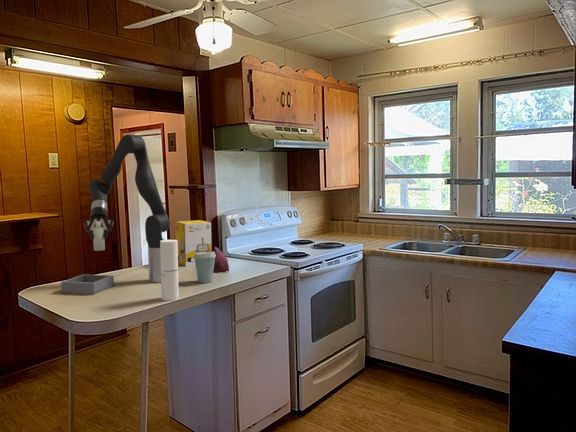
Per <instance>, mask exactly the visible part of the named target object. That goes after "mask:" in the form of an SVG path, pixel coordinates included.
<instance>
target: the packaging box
mask: <svg viewBox="0 0 576 432" xmlns="http://www.w3.org/2000/svg"><path fill="white" fill-rule="evenodd" d="M174 223H175V240H177V241H178V265H181V266H183V267H186V268H187V267H194V266H195V267H196V264H195V257H194V255H195V254H196V253H200V252H213V251H212V221H205V220H199V219H198V220H197V219H195V220H182V221H181V220H179V221H175V222H174Z"/></svg>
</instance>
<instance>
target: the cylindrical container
mask: <svg viewBox="0 0 576 432" xmlns="http://www.w3.org/2000/svg"><path fill="white" fill-rule="evenodd" d="M160 255H161V282H160V284H161V285H160V286H161V287H160V288H161V289H160V290H161V301H167V302H169V301H176V300H178V299H179V297H180V296H179V294H180V293H179V292H180V291H179V263H178V241H177V240H176V239H164V240H162V241H160Z"/></svg>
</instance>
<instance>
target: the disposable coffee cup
mask: <svg viewBox="0 0 576 432" xmlns="http://www.w3.org/2000/svg"><path fill="white" fill-rule="evenodd" d="M194 257H195V264H196V266H195V269H196V277H197V281H198V283H200V284H208V283H211V282H212V280H213V275H214V272H213V269H214V262H215V257H216V254H215V252H214V251H212V252H200V253H196V254H195V255H194Z"/></svg>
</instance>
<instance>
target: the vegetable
mask: <svg viewBox="0 0 576 432" xmlns="http://www.w3.org/2000/svg"><path fill="white" fill-rule="evenodd" d="M213 252H215V254H216V257H215V262H214V269H213V273H215V272H216V274H218V272H223V273H227V272H226V271H228V272H229V271H230V266H229V262H228V259H227V257H226V255H225V254H224V253H223V252H222V251H221V250H220V249H219V248H218V247H217V246H215V247H214V248H213Z"/></svg>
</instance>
